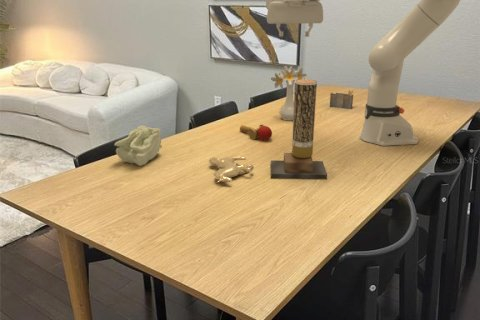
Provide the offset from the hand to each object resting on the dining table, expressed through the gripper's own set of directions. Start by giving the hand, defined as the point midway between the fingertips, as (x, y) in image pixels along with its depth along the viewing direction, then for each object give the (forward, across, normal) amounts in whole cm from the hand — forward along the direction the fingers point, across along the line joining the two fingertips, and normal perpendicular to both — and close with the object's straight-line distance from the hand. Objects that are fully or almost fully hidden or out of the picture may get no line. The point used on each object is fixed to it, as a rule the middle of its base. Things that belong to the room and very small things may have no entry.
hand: (294, 36), depth 152 cm
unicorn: (+39, -16, -27) cm, 50 cm away
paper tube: (+36, +2, -28) cm, 46 cm away
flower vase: (+41, +1, +34) cm, 54 cm away
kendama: (+42, -15, +7) cm, 45 cm away
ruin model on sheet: (+42, +29, +58) cm, 77 cm away
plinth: (+41, +1, -30) cm, 51 cm away
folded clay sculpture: (+41, -54, -22) cm, 72 cm away
